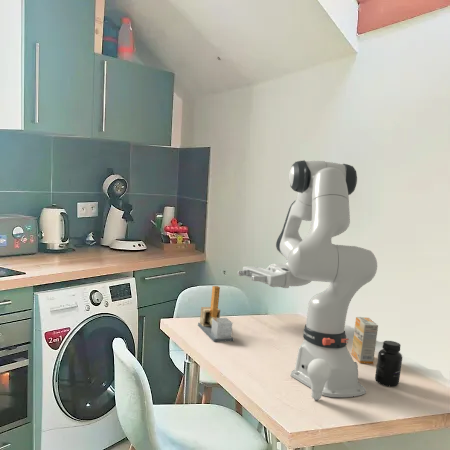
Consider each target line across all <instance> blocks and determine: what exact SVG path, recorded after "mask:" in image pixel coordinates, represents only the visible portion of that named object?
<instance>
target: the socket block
mask: <svg viewBox="0 0 450 450" xmlns="http://www.w3.org/2000/svg"><path fill="white" fill-rule="evenodd" d="M210 308H211V306H201V308H200V318H199V323H200V324H201V325H202V326H211V325H210V324H209V323H208V322H207V321H206V315H207V314H208V313H210ZM217 317H218V318H221V309H220V308H219V307H218V313H217Z"/></svg>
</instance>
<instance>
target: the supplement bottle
mask: <svg viewBox="0 0 450 450" xmlns="http://www.w3.org/2000/svg"><path fill="white" fill-rule="evenodd" d="M382 342H383V344H382V349H380V350H379V351H378V353H377V359H376V368H375V375H374V381H375V382H376V383H378V384H380V385H382V386H384V385H385V387H389V386H390V388H391V387H392V388H394V387H397V386H399V384H400V379H401V370H402V365H403V364H402V363H403V355H402V354H401V343H400V342H397V341H393V340H384V341H382Z"/></svg>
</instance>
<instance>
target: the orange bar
mask: <svg viewBox="0 0 450 450" xmlns="http://www.w3.org/2000/svg"><path fill="white" fill-rule="evenodd" d="M220 289H221V287H220V286H219V285H212V289H211V299H210V307H211V308H210V313H208V314H207V315H206V321H207V322H208V323H209V324H210V325H211V326H212V318H218V317H217V313H218V308H219V300H220V291H221V290H220Z"/></svg>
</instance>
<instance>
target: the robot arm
mask: <svg viewBox="0 0 450 450" xmlns="http://www.w3.org/2000/svg"><path fill="white" fill-rule="evenodd" d="M288 182H289V186H290V188H291V189H292V190H293V191H294V192H296V193H297V196H296V199H295V200H294V201H293V202H292V203H291V204H290V206H289V208H288V211H287V214H286V218H285V221H284V224H283V227H282V230H281V231H280V234H279V235H278V237H277V240H276V243H275V247H276V250H277V251H278V253H280V254H281V255H282V256H283V257H284V259H286V260H287V262H286V263H271V264H269V265H268V266H267V267H266V268H265V267H261V266H255V265H254V266H253V265H252V266H251V265H249V266H247V265H245V266H242V269H241V270H238V271H237V276H240V277H245V278H249V279H251V281H253V282H260V283H263V284H265V285H267V286H268V285H269V286H270V287H272V288H282V289H289V288H290V287H301V286H302V287H303V286H305V285H309V284H311V282H320V283H321V282H322V283H323V282H324V283H329V286H327V288H326V289H325V290H324V291H322V292H319V293H316V294H315V295H314V296H312V297H311V299H310V300H309V301H308V307H307V315H306V322H305V325H304V328H303V331H302V332H303V334H302V337H303V341H302V343H301V345H300V346H299V348H298V351H297V355H296V359H295V367H294V369H292V370H291V371H290V376H291V377H292V378H294V379H296V381H297V380H298V382H301V383H302V384H303V385H305V386H307V387H309V388H310V389H311V380H310V378H309V375H308V371H307V369H308V365H309V363H310V362H311V361H312V360H314V359H318V358H320V359H324V360H325V361H327V362H328V363H329V365H330V367H331V375H330V377H329V379H328V380H327V381H326V383H325V385H324V388H323V391H322V395H321V396H325V397H331V398H352V397H353V396H354V397H359V396H362V395H365V394H366V392H367V389H366V387H364V385H362V384H361V382H359V369H358V366H359V364H358V362H357V361H354V359H353V357H352V354H350V351H349V350H348V348H347V343H349V338H347V333H346V330H345V326H346V321H347V320H346V319H347V314H348V309H349V306H350V303H351V301H352V299H353V297H354V296H355V295H356V293H358V291H359V290H360V289H362V287H363V286H365V285H366V284H368V283H370V282H371V281H372V280H373V279H374V278H375V276H376V274H377V270H378V262H377V258H376V256H375V254H374V253H373V251H372V250H370V249H366V248H362V247H359V246H356V245H343V244H334V243H332V242H333V241H332V239H333V238H334V237H336V236H340V235H341V234H343V233H345V232H346V231H347V230H348V229H349V227H350V224H351V218H350V217H351V215H350V197H349V196H351V195H352V194H353V192H355V190H356V187H357V184H358V174H357V170H356V169H355V167H354V166H353V165H351V164H347V163H342V164H341V163H337V162H332V161H331V162H330V161H325V160H305V159H303V160H298V161H295V162H293V164H291V167H290V170H289V172H288ZM302 221H306V222H311V223H310V228H309V230H308V232H307V234H306V236H304V238H303V239H302V237H301V236H300V232H299V230H300V227H301V225H302Z"/></svg>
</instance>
